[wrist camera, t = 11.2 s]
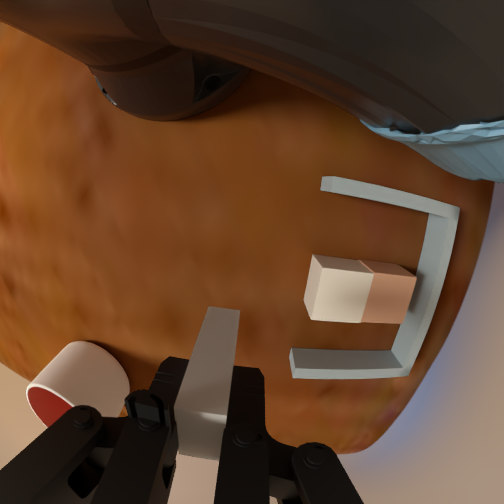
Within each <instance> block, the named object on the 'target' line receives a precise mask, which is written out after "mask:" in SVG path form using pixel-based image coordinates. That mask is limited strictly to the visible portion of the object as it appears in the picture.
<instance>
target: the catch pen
mask: <svg viewBox="0 0 504 504" xmlns="http://www.w3.org/2000/svg"><path fill="white" fill-rule="evenodd" d="M321 190H322V191H328V192H334V193H339V194H345V195H350V196H355V197H360V198H365V199H370V200H375V201H380V202H385V203H389V204H394V205H398V206H403V207H407V208H411V209H415V210H420V211H424V212H428V213H429V217H428V223H427V228H426V233H425V238H424V243H423V248H422V252H421V256H420V260H419V265H418V268H417V272H416V277H417V280H416V283H415V287H414V290H413V294H412V297H411V300H410V303H409V306H408V309H407V312H406V315H405V318H404V321H403V324H401V325H400V328H399V330H398V333H397V336H396V339H395V341H394V344H393V346H392V349H391V350H380V351H363V350H324V349H305V348H291V351H290V355H289V359H290V365H291V370H292V376H293V378H308V379H366V378H387V377H401V376H408V374H409V372H410V370H411V368H412V366H413V364H414V362H415V359H416V357H417V355H418V352H419V350H420V348H421V345H422V343H423V341H424V338H425V336H426V333H427V330H428V328H429V325H430V322H431V320H432V317H433V314H434V311H435V308H436V305H437V302H438V299H439V296H440V293H441V290H442V286H443V283H444V279H445V276H446V272H447V268H448V265H449V261H450V256H451V252H452V248H453V243H454V239H455V234H456V229H457V223H458V218H459V211H460V208H459V207H456V206H453V205H450V204H446V203H443V202H440V201H436V200H433V199H429V198H426V197H422V196H418V195H414V194H411V193H407V192H403V191H399V190H395V189H391V188H387V187H382V186H378V185H373V184H369V183H364V182H360V181H355V180H350V179H345V178H340V177H335V176H326V177H322V183H321Z"/></svg>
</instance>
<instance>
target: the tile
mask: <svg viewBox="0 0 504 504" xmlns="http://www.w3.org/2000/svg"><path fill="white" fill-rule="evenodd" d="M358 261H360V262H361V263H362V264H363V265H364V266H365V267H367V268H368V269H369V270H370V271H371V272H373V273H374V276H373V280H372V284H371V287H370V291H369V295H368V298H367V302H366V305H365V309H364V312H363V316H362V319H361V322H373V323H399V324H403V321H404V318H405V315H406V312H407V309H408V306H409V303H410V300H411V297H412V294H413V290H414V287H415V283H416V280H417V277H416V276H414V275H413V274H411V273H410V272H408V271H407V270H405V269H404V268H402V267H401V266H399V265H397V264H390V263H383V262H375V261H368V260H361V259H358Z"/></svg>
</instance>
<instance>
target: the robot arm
mask: <svg viewBox="0 0 504 504" xmlns="http://www.w3.org/2000/svg"><path fill="white" fill-rule="evenodd" d="M0 21H1V22H3V23H5V24H8V25H10V26H12V27H14V28H16V29H19V30H21V31H23V32H25V33H27V34H29V35H31V36H33V37H35V38H37V39H39V40H41V41H43V42H45V43H47V44H49V45H51V46H53V47H55V48H57V49H58V50H60V51H62V52H64V53H66V54H68V55H70V56H71V57H73V58H75V59H77V60H78V61H81V62H82V63H84V64H86V65H88V67H89V69H90V71H91V72H92V74H93V75H95V78H96V81H97V84H98V86H99V88H100V90H101V92H102V93H103V94H104V96H105V97H106V98H107V99H108V100H109V101H110V102H111V103H112V104H113V105H115V106H116V107H117V108H119V109H121V110H123V111H125V112H127V113H129V114H131V115H133V116H136V117H139V118H142V119H146V120H153V121H170V120H178V119H182V118H187V117H190V116H193V115H196V114H199V113H201V112H203V111H206V110H208V109H210V108H211V107H213V106H215V105H217V104H218V103H220V102H221V101H223V100H224V99H225V98H227V97H228V96H229V95H230V94H232V93H233V92H234V91H235V90H236V89H237V88H238V87H239V85H240V84H241V83H242V82H243V81H244V79H245V78H246V76H247V75H248V73H249V72H250V70H251V69H254V70H257V71H259V72H262V73H265V74H268V75H270V76H273V77H275V78H278V79H280V80H283V81H285V82H288V83H290V84H293V85H295V86H297V87H300V88H302V89H304V90H306V91H308V92H311V93H313V94H315V95H317V96H319V97H321V98H323V99H325V100H327V101H329V102H330V103H332V104H334V105H336V106H338V107H340V108H342V109H343V110H345V111H347V112H349V113H351V114H352V115H354V116H356V117H358V118H359V119H360V121H361V122H362V123H363V124H364V125H365V126H366V127H368V128H369V129H371V130H372V131H374V132H375V133H376V134H378V135H380V136H383V137H385V138H388V139H391V140H395V141H399V142H401V143H403V144H405V145H406V146H408V147H410V148H411V149H413V150H415V151H416V152H418V153H419V154H421V155H422V156H424V157H425V158H427V159H428V160H430V161H431V162H432V163H434V164H435V165H437V166H439V167H440V168H442V169H444V170H446V171H448V172H450V173H452V174H454V175H457V176H459V177H462V178H466V179H469V180H482V179H486V180H490V181H495V182H497V183H504V0H0ZM239 316H240V310H233V309H225V308H218V307H210V306H209V307H208V310H207V313H206V315H205V318H204V321H203V324H202V327H201V329H200V332H199V335H198V338H197V341H196V343H195V346H194V349H193V352H192V355H191V358H190V360H188V359H182V358H176V357H171V356H170V357H168V358H167V359H166V360H164V361H163V362H162V363H161V364H160V367H159V369H158V371H157V373H156V375H155V377H154V381H152V384H151V386H150V388H149V390H144V389H143V390H137V391H134V392H132V393H130V394H128V395H127V397H126V398H125V399H124V401H125V405H126V409H127V413H128V416H126V417H102V416H101V413H100V412H99V411H98V410H97V409H96V408H94V407H91V406H89V405H78V406H74V407H72V408H71V409H69V410H68V411H67V412H65V413H64V414H63V415H62V416H61V417H60V418H59V419H57V420H56V421H55V422H54V423H53V424H52V425H51V426H50V427H48V428H47V429H46V430H45V431H44V432H43V433H42V434H41V435H40V436H38V437H37V438H36V439H35V440H34V441H33V442H31V443H30V444H29V445H28V446H27V447H26V448H25V449H24V450H23V451H21V452H20V453H19V454H18V455H17V456H16V457H15V458H13V459H12V460H11V461H10V462H9V463H8V464H7V465H6V466H4V467H3V468H2V469H1V470H0V504H167V502H168V498H169V494H170V489H171V486H172V481H173V477H174V473H175V469H176V459H175V458H176V455H177V451H179V454H182V455H187V456H192V457H198V458H204V459H211V460H218V461H219V467H218V474H217V475H218V476H217V482H216V490H215V498H214V504H270V502H269V501H270V497H269V496H272V497H275V498H276V499H277V502H278V504H364V503H363V502H362V500H361V498H360V496H359V494H358V493H357V491H356V489H355V487H354V485H353V484H352V482H351V480H350V479H349V477H348V475H347V473H346V471H345V469H344V468H343V466H342V464H341V463H340V461H339V459H338V457H337V455H336V453H335V452H334V451H333V450H332V449H331V448H330V447H328V446H326V445H325V444H321V443H317V442H312V443H305V444H303V445H300V446H299V447H298V448H296V447H293V446H289V445H285V444H282V443H280V442H278V441H276V440H275V439H273V438H272V437H271V436H270V435H269V434H268V432H267V430H266V426H265V397H264V395H265V389H264V376H263V374H262V373H261V371H260V369H259V368H251V367H242V366H234V358H235V350H236V341H237V333H238V324H239Z"/></svg>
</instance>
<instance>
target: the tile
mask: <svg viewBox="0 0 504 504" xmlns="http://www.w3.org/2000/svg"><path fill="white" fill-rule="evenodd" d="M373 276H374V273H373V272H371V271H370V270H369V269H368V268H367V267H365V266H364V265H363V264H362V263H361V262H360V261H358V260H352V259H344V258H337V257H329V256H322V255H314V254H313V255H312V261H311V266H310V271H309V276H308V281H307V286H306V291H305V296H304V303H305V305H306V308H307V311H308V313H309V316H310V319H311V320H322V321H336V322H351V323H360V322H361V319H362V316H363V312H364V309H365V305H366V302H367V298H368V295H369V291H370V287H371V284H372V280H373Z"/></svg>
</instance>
